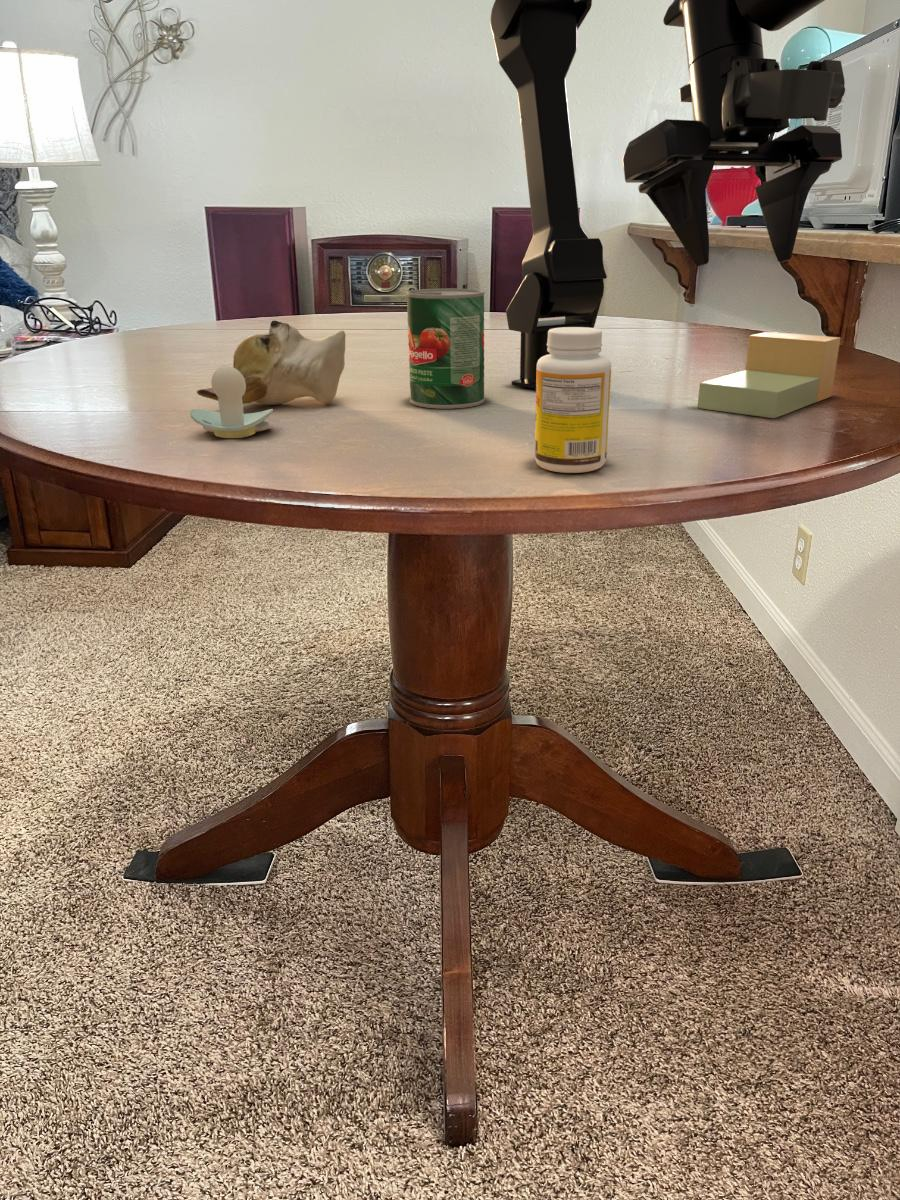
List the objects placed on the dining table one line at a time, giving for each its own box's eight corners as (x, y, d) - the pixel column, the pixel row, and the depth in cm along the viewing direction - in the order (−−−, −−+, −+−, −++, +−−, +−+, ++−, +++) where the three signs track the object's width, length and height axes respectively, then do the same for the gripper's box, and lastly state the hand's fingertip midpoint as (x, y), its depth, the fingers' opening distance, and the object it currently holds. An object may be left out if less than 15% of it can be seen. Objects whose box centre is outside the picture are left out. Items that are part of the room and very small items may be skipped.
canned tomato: (497, 397, 95) (498, 289, 91) (463, 411, 89) (462, 295, 84) (432, 392, 98) (430, 287, 94) (395, 405, 92) (391, 293, 88)
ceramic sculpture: (339, 320, 85) (183, 333, 85) (349, 410, 89) (200, 422, 89) (346, 310, 95) (207, 321, 95) (356, 391, 99) (221, 402, 99)
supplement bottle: (559, 453, 73) (564, 323, 69) (619, 463, 70) (627, 328, 65) (519, 467, 69) (522, 331, 65) (580, 479, 66) (587, 336, 62)
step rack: (697, 408, 89) (703, 346, 86) (758, 388, 98) (765, 331, 96) (774, 418, 84) (783, 353, 81) (831, 396, 93) (840, 337, 91)
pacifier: (205, 428, 84) (187, 441, 78) (198, 360, 82) (179, 368, 76) (282, 427, 84) (270, 440, 78) (277, 359, 82) (263, 367, 76)
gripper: (709, -5, 60) (732, 236, 62) (893, 18, 68) (908, 231, 70) (607, 72, 70) (631, 277, 72) (779, 84, 78) (795, 268, 80)
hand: (744, 263), depth 73 cm, fingers open, 9 cm apart
